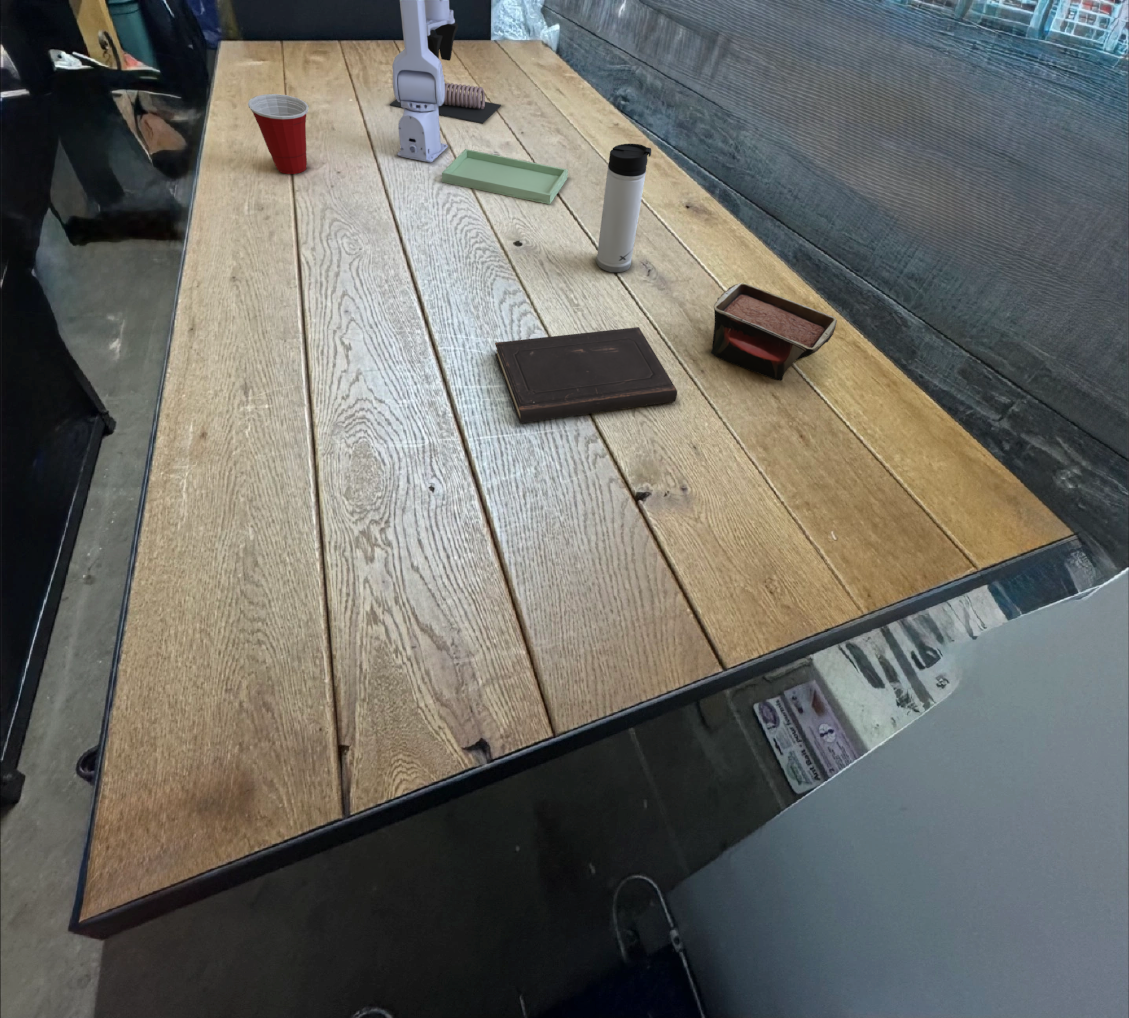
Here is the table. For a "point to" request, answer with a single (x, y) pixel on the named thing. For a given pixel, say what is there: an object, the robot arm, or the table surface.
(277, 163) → the plastic cup
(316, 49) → the table surface
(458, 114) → the mat
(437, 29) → the robot arm
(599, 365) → the hardcover book
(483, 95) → the coil
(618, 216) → the travel mug
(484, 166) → the tray
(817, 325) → the baking dish
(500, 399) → the table surface
